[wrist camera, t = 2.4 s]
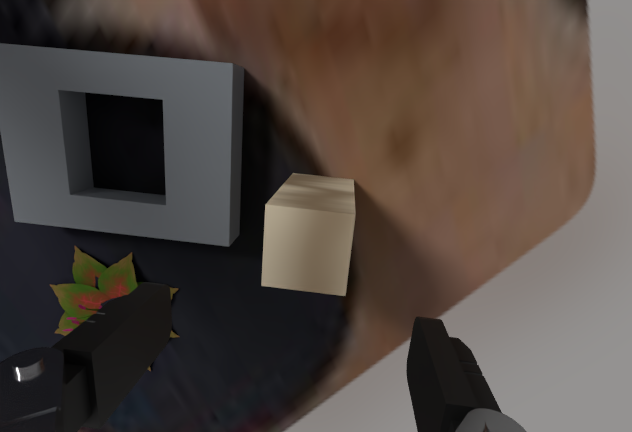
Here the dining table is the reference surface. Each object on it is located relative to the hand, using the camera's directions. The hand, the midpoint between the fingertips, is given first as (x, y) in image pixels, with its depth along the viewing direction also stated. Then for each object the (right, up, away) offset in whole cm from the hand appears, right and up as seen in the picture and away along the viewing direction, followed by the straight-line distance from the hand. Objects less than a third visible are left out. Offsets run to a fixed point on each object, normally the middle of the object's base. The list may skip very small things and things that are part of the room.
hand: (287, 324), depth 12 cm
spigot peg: (+1, +4, +15) cm, 16 cm away
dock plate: (-12, +9, +15) cm, 21 cm away
